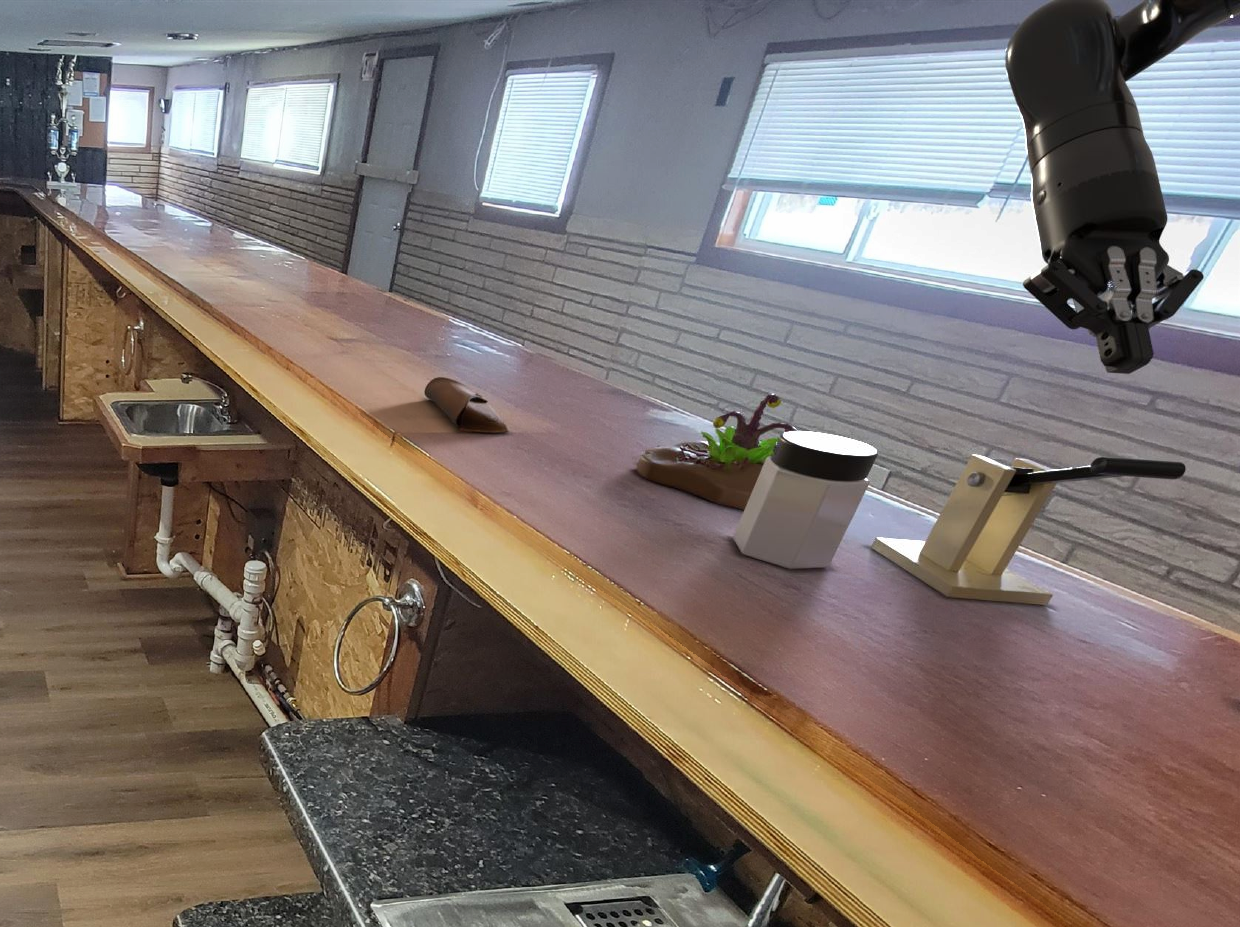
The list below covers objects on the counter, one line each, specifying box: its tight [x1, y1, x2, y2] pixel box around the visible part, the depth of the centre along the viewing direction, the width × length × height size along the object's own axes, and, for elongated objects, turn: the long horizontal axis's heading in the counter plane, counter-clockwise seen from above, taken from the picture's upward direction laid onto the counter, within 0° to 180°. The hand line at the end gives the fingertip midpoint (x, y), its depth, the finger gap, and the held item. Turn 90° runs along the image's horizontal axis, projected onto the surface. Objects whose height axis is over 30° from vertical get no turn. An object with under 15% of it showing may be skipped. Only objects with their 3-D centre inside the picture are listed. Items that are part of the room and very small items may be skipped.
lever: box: [1002, 456, 1187, 496], centre depth 81 cm, size 14×6×2 cm, turn 173°
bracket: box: [870, 454, 1058, 606], centre depth 88 cm, size 12×9×12 cm
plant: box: [636, 393, 798, 511], centre depth 111 cm, size 20×20×11 cm
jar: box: [732, 430, 879, 570], centre depth 91 cm, size 9×8×12 cm
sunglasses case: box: [423, 376, 509, 434], centre depth 136 cm, size 18×7×7 cm
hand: (1129, 368), depth 76 cm, fingers closed
